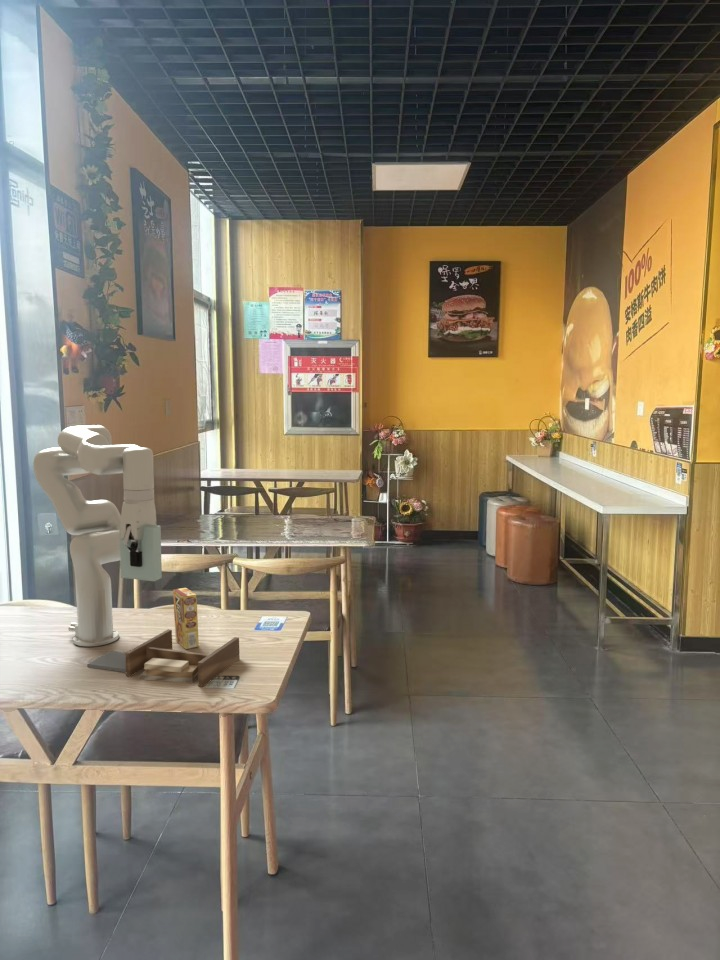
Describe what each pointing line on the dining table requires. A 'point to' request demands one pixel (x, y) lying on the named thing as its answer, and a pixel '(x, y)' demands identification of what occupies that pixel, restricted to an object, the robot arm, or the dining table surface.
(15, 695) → the dining table surface
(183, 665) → the offcut stack
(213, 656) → the rack
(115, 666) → the rubber mat
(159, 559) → the pale mint block
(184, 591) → the candy box
